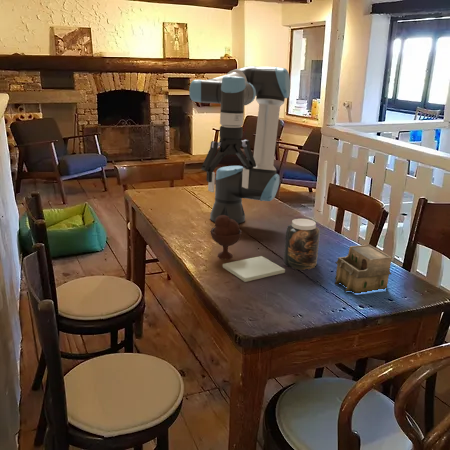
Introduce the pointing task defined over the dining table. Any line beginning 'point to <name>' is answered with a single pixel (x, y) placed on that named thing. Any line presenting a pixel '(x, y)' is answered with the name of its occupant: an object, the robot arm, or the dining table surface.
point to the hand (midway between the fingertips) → (228, 189)
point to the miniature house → (363, 269)
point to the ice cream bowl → (225, 234)
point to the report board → (253, 268)
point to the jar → (301, 244)
